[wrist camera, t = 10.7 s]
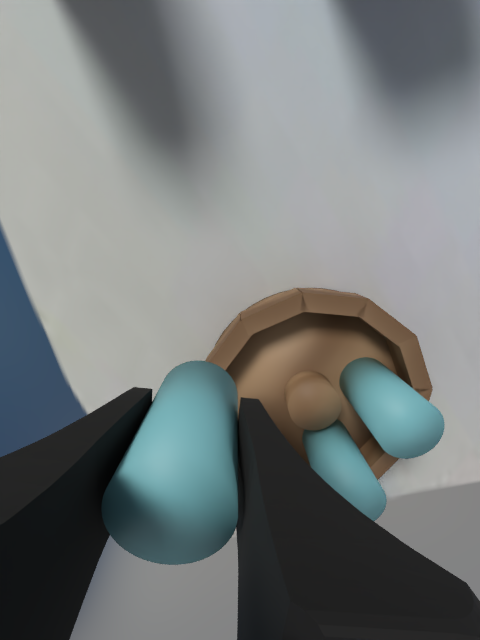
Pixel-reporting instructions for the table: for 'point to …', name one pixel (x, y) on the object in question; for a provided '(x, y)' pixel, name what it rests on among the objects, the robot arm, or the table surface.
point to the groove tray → (316, 361)
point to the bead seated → (391, 409)
